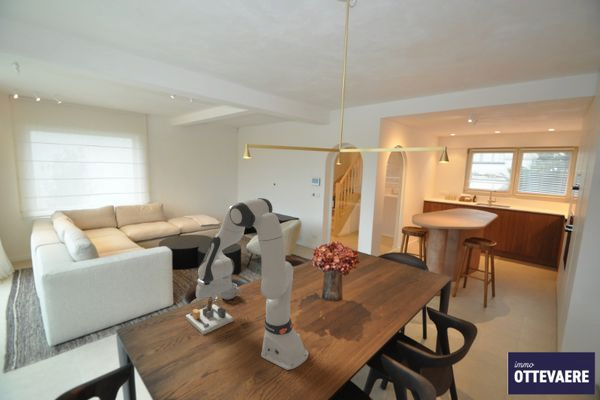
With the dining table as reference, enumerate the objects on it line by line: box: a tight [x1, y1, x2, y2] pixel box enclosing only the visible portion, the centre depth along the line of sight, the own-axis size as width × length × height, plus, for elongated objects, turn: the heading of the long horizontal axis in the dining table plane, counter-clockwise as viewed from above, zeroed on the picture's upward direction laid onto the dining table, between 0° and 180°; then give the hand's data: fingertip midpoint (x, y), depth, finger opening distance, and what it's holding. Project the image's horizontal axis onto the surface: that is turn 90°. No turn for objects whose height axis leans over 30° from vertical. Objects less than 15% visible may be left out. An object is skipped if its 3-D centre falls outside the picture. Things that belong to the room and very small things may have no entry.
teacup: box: [219, 282, 242, 301], centre depth 169 cm, size 14×11×8 cm
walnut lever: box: [205, 296, 214, 314], centre depth 145 cm, size 3×2×10 cm
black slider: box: [218, 306, 227, 318], centre depth 145 cm, size 4×2×4 cm, turn 47°
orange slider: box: [191, 308, 200, 319], centre depth 143 cm, size 4×2×4 cm, turn 47°
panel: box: [185, 303, 234, 336], centre depth 144 cm, size 20×17×6 cm
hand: (214, 301), depth 148 cm, fingers closed
